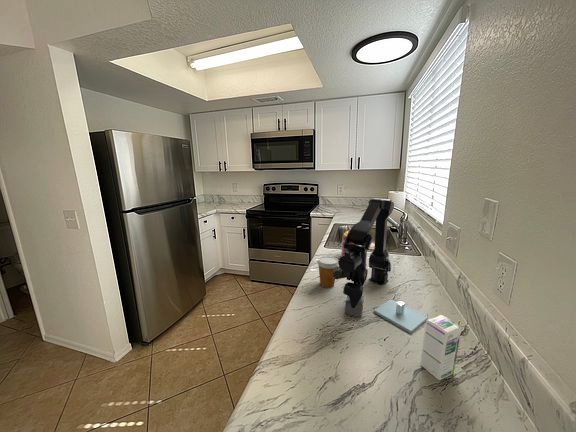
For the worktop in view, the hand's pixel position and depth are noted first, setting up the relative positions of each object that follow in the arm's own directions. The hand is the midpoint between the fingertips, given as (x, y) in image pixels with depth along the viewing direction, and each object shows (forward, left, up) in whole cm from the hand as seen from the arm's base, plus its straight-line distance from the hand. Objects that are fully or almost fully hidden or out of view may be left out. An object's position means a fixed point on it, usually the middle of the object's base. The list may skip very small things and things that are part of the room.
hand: (354, 301), depth 90 cm
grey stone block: (+12, +11, -3) cm, 16 cm away
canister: (-33, +40, -4) cm, 52 cm away
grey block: (0, 0, -4) cm, 4 cm away
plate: (+12, +11, -4) cm, 17 cm away
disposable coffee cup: (-20, +6, -4) cm, 21 cm away
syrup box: (+30, -3, -4) cm, 30 cm away
